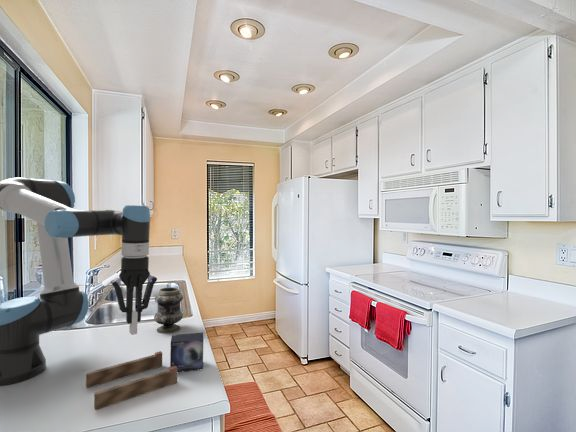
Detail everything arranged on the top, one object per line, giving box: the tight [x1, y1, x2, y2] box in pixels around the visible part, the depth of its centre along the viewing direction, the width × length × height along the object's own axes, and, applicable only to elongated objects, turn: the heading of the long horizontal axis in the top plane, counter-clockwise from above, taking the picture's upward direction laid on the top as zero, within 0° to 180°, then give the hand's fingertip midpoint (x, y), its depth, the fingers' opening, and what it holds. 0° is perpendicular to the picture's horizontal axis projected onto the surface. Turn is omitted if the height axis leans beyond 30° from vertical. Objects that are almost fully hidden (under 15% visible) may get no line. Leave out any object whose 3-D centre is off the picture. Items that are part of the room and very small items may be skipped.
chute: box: [85, 350, 178, 411], centre depth 98 cm, size 22×15×5 cm
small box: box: [169, 332, 204, 373], centre depth 109 cm, size 11×6×10 cm, turn 106°
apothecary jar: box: [153, 286, 184, 334], centre depth 144 cm, size 12×12×18 cm
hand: (133, 332), depth 99 cm, fingers closed
